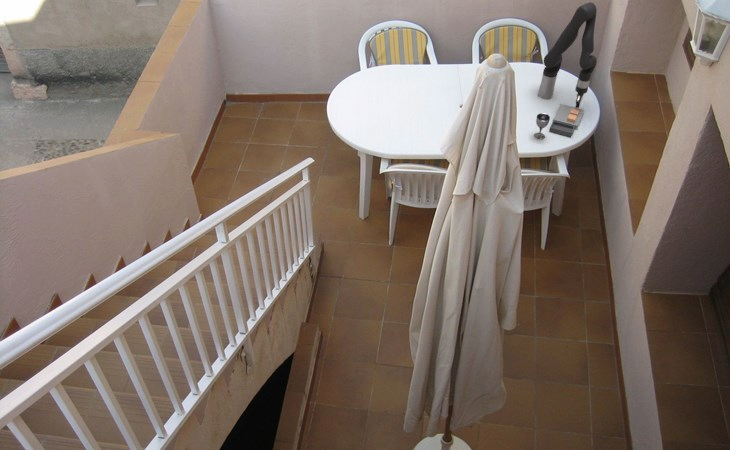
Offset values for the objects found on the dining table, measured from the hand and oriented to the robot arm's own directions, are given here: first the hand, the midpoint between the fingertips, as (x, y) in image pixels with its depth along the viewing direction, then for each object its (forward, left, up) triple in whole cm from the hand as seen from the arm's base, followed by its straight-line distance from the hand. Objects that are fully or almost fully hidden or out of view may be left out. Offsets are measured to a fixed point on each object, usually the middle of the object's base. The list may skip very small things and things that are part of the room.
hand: (577, 107), depth 452 cm
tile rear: (0, -7, -1) cm, 7 cm away
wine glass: (-15, -34, -5) cm, 38 cm away
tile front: (0, -13, -1) cm, 14 cm away
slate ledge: (-3, -8, -4) cm, 10 cm away
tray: (-4, -23, -4) cm, 24 cm away
